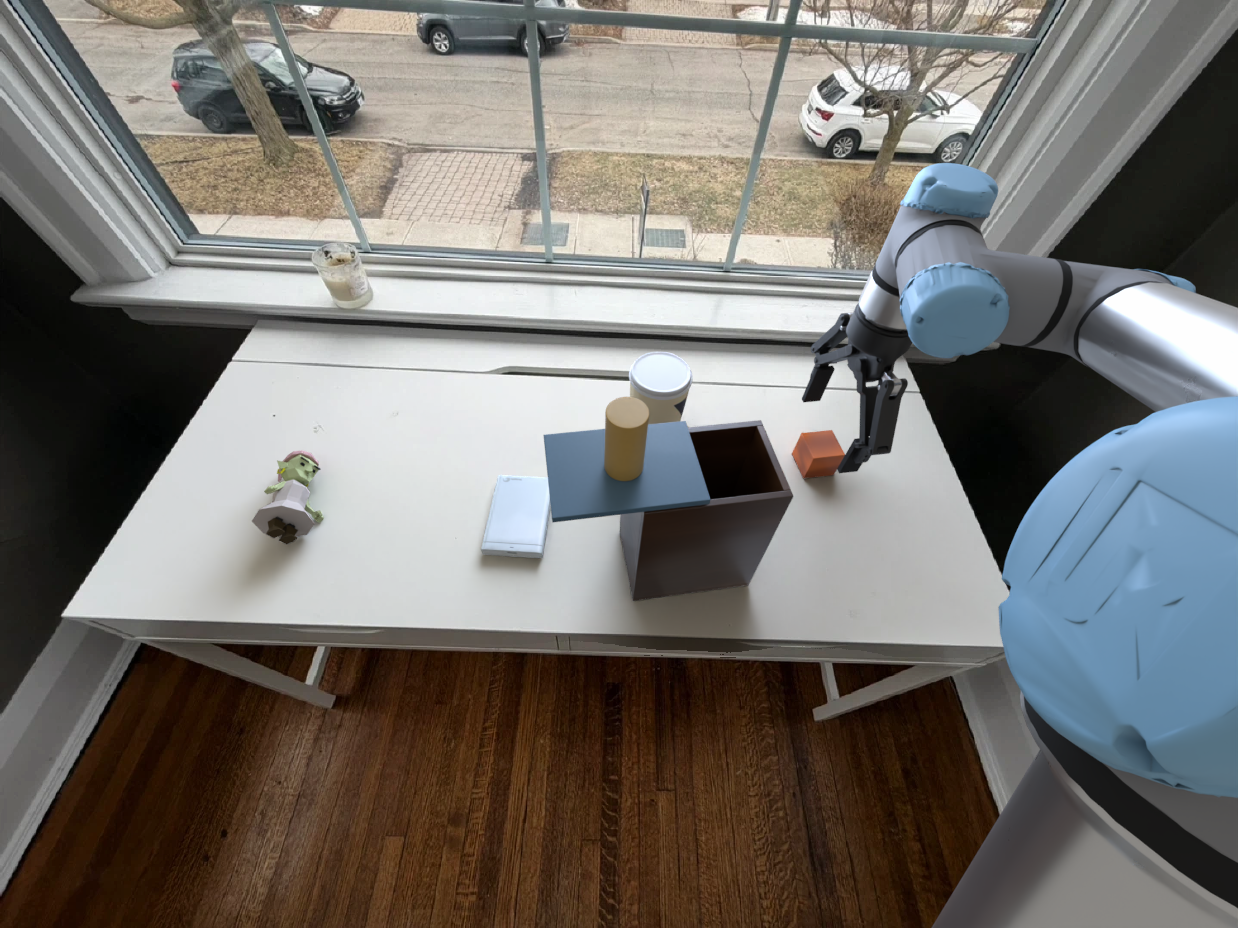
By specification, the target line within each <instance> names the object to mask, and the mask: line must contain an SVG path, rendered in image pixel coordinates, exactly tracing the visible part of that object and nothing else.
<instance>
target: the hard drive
mask: <svg viewBox="0 0 1238 928" xmlns="http://www.w3.org/2000/svg"><path fill="white" fill-rule="evenodd" d="M496 478H497V479H496V483H495V487H494V492H493V496H492V500H491V505H490V508H489V512H488V516H487V520H486V521H487V522H486V524H485V525H486V526H485V530H484V534H483V539H482V542H481V543H482V544H481V548H480V552H481V555H485V556H498V557H499V556H500V557H512V558H513V557H515V558H529V559H530V558H531V559H542V558H543V556H544V549H545V543H546V536H547V532H548V531H547V530H548V524H549V518H550V513H551V504H550V494H549V485H548V477H546V476H545V477H544V476H543V477H542V476H527V475H509V474H508V475H507V474H499V475H497V477H496Z"/></svg>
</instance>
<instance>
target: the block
mask: <svg viewBox="0 0 1238 928" xmlns="http://www.w3.org/2000/svg"><path fill="white" fill-rule="evenodd" d="M845 454H846V453H845V451H844V450H843V448H842V446H841V444H840V442H839V440H838V439H837V436H836V434H835V433H834V430H833V429H828V430H818V431H809V432H801V433H800V435H799V437H798V440H797V442H796V444H795V446H794V448H793V450H792V453H791V455H792V457H793V459H794V461H795V463H796V466H797V468H798V470H799V472H800V475H801V477H802V479H804V480H805V479H812V478H813V479H814V478H821V477H822V478H823V477H830V476H834V475H835V474H836V472H837V471H838V470H837V468H838V466H839V465H840V463H841V461H842V459H843V458H844V456H845Z"/></svg>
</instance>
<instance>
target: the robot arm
mask: <svg viewBox="0 0 1238 928" xmlns="http://www.w3.org/2000/svg"><path fill="white" fill-rule="evenodd" d="M998 195H999V185H998V183H997V182H996V180H995V179H994V178H993V177H992V176H990V175H989V174H987V173H986V172H984V171H982V170H980V169H978V168H975V167H972V166H969V165H966V164H960V163H953V162H952V163H951V162H941V163H940V162H939V163H934V164H930V165H928V166H926V167H923V168H922V169H921V170H920V171H919V172H918V173H917V174H916V175H915V177H914V179H913V180H912V183H911V184H910V187H909V188H908V191H907V192H906V194H905V196H904V198H903V199H901V201H900V203H899V205H900V207H899V209H898V212H897V214H896V216H895V219H894V221H893V223H892V225H891V227H890V230H889V231H888V234H887V237H886V238H885V241H884V243H883V246H882V248H881V250H880V253H879V255H878V257H877V259H876V260H875V264H874V265H873V269H871V272H870V274H869V276H868V278H867V280H866V282H865V284H864V287H863V288H862V291H861V293H860V295H859V298H858V302H857V304H856V305H855V307H854V310H853V312H842V313H840V314H839V316H838V318H837V320H836V321H835V323H834V325H833V326H831V327H830V328H829V329H828V330H827V331H825V333H824V334H823V335H821V337H819V338H818V339H817V340H816V341H815V342H814V343H812V345H811V346H810V352H811V354H814V359H813V363H814V365H813V368H812V370H811V373H810V376H809V380H808V382H807V385H806V387H805V390H804V392H803V395H802V396H801V401H802V402H803V403H812V402H821V400H822V397H823V395H824V393H825V391H826V389H827V387H828V384H829V383H830V380H831V378H832V376H833V375H834V372H835V370H836V368H835V367H834V364H838V363H840V362H843V361H847V364H846V365H847V367H848V369H849V370H850V371H851V372H852V374H853V377H854V379H855V380H856V393H858V394H859V429H858V430H859V431H858V432H859V433H858V435H859V436H858V438H854V439H853V441H852V442H851V444H850V445H849V447H848V449H847V451H846V453H845V456H844V458H843V459H842V461H841V463H840V465H839V466H838V468H837V470H836V471H837V473H838V474H847V473H855V472H858V471H859V470H860V468H861V467H862V465H863V463H867V462H868V461H870V458H871V457H872V456H879V455H880V456H881V455H886V454H891V452H892V448H893V443H894V438H895V434H896V429H897V428H896V427H897V422H898V418H899V413H900V407H901V402H902V398H903V396H904V394H905V392H906V390H907V388H908V385H909V382H908V379H907V378H905V377H903V378H898V376H897V375H896V374H895V373H894V368H895V363H896V361H897V360H898V359H899V358H901V357H902V356H903V355H905V354H906V353H907V352H908V351H909V349H910V348H911V346H912V345H914V347H915V348H916V349H918V350H919V351H920V352H921V353H923V354H925V355H928V356H930V357H933V358H938V359H953V358H954V357H958V356H963V355H964V356H970V355H974V354H976V353H978V352H980V351H983V350H984V349H985V348H988V347H990V346H991V345H992V344H993V343H996V344H997V343H998V344H1003V345H1009V346H1010V345H1011V346H1015V347H1016V346H1017V347H1023V348H1032V349H1037V350H1044V351H1049V352H1055V353H1060V354H1064V355H1068V356H1069V357H1072V358H1073V359H1075V360H1076V361H1078V362H1079V363H1080V364H1082V365H1083V366H1086V367H1087V368H1088V369H1090V370H1091V371H1094V372H1095V373H1097V374H1098V375H1100V376H1102V377H1103V378H1104V379H1106V380H1108V381H1109V382H1111V383H1112V384H1114V385H1115V386H1117V387H1118V388H1119V389H1121V390H1122V391H1124V392H1125V393H1127V394H1129V395H1130V396H1131V397H1133V398H1134V399H1136V400H1137V401H1139V402H1140V403H1142V404H1143V405H1145V406H1146V407H1147V408H1149V409H1150V410H1152V411H1153V413H1151V414H1150V415H1148V416H1146V417H1145V418H1143V419H1141V420H1140V421H1139V422H1138V423H1135V424H1131V425H1129V424H1128V425H1126V426H1121V427H1119V428H1115V429H1113V430H1111V431H1110V432H1108V433H1106V434H1105V435H1103V436H1102V437H1099V439H1097V440H1095V441H1093V442H1092V443H1091V444H1090V445H1088V446H1087V447H1084V449H1083V450H1081V451H1080V452H1079V453H1078V454H1076V455H1075V456H1074V457H1072V458H1071V459H1070V460H1069V461H1068V462H1067V463H1066V464H1065V465H1064V466H1062V468H1061V469H1060V470H1058V472H1057V473H1055V475H1053V477H1052V478H1051V479H1050V480H1049V481H1048V482H1047V484H1046V485H1045V486H1044V487H1043V488H1042V490H1041V491H1040V492H1039V494H1038V495H1037V496H1036V498H1035V499H1034V500H1033V502H1032V503H1031V504H1030V506H1029V508H1028V509H1027V511H1026V513H1025V514H1024V516H1023V518H1022V520H1021V521H1020V523H1019V525H1018V526H1017V527H1018V528H1017V529H1016V532H1015V533H1014V536H1013V538H1012V541H1011V542H1010V543H1011V544H1010V546H1009V549H1008V551H1007V554H1006V557H1005V560H1004V565H1003V571H1002V574H1001V580H1002V582H1003V583H1004V584H1005V585H1007V586H1010V590H1009V596H1007V597H1006V599H1005V600H1003V601H1002V602H1001V603H1000V604H999V605H998V623H999V624H998V625H999V635H1000V639H1001V642H1002V646H1003V651H1004V657H1005V660H1006V663H1007V666H1008V668H1009V671H1010V673H1011V675H1012V677H1013V679H1014V681H1015V683H1016V684H1017V686H1018V689H1019V690H1020V696H1019V703H1020V711H1021V714H1022V716H1023V719H1024V722H1025V724H1026V725H1025V726H1026V727H1027V729H1028V731H1029V732H1030V735H1031V736H1032V738H1033V740H1034V742H1035V744H1036V745H1037V747H1038V749H1039V750H1038V752H1037V754H1036V755H1035V757H1034V758H1033V760H1032V762H1031V763H1030V765H1029V766H1028V768H1027V770H1026V772H1025V773H1024V775H1023V776H1022V778H1021V779H1020V781H1019V783H1018V785H1017V786H1016V788H1015V790H1014V791H1013V792H1012V795H1011V796H1010V798H1009V799H1008V801H1007V803H1006V805H1005V806H1004V808H1003V810H1002V811H1001V813H1000V814H999V816H998V818H997V819H996V821H995V823H994V824H993V826H992V828H991V829H990V831H989V832H988V833H987V836H986V838H985V839H984V841H983V842H982V843H981V846H980V848H979V849H978V850H977V852H976V854H975V856H974V857H973V859H972V860H971V862H970V863H969V865H968V867H967V869H966V870H965V872H964V874H963V875H962V876H961V878H960V880H959V882H958V884H957V885H956V887H955V888H954V890H953V892H952V893H951V895H950V896H949V898H948V899H947V902H946V903H945V905H944V907H943V908H942V909H941V911H940V913H939V915H938V916H937V918H936V919H935V921H934V923H933V925H932V926H931V928H1238V307H1236V306H1234V305H1231V304H1228V303H1226V302H1222V301H1219V300H1217V299H1214V298H1210V297H1207V296H1205V295H1201V294H1199V293H1197V290H1196V286H1195V284H1193V283H1192V282H1191V281H1189V280H1187V279H1185V278H1182V277H1179V276H1174V275H1169V274H1166V273H1162V272H1159V271H1156V270H1150V269H1144V268H1134V269H1130V268H1123V267H1115V266H1107V265H1100V264H1091V263H1083V262H1077V261H1067V260H1063V259H1058V258H1053V257H1052V258H1051V257H1044V256H1037V255H1031V254H1022V253H1016V252H1009V251H1002V250H993V249H990V248H988V246H987V243H986V240H985V238H984V235H983V232H982V231H981V229H982V226H983V224H984V222H985V220H987V219H989V217H990V215H991V211H992V209H993V206H994V204H995V202H996V200H997V198H998ZM845 339H847V345H845V346H843V347H840V348H839V347H838V348H836V347H837V346H838V345H840V343H842V342H843V341H844V340H845ZM834 348H836V349H835V350H833V349H834ZM832 350H833V351H832ZM830 364H831V365H830ZM874 382H877V385H871V386H867V383H874Z"/></svg>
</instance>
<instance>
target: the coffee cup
mask: <svg viewBox="0 0 1238 928" xmlns="http://www.w3.org/2000/svg"><path fill="white" fill-rule="evenodd" d="M628 379H629V397H634V398H637V399H639V400H641V401H642V402H644V403H645V404H646V406H647V407H648V409H649V422H648V424H659V423H669V422H679V421H682V417H683V413H684V411H685V406H686V403H687V399H688V395H689V392H690V388H692V387H691V386H692V384H693V372H692V369H691V367H690V365H689V364H688V363H687V361H686V360H685V359H683V358H682V357H680V356H679V355H677V354H674V353H672V352H667V351H651V352H647V353H645V354H644V353H643V354H642V355H640V356H639V357H638V358H636V359H635V360H634V361H633V363H632V364H631V366H630V367H629V370H628Z"/></svg>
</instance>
